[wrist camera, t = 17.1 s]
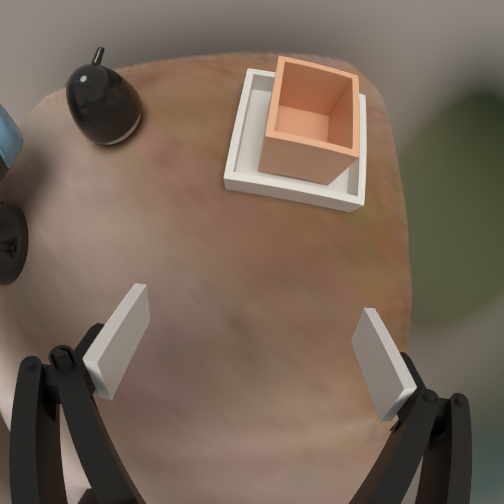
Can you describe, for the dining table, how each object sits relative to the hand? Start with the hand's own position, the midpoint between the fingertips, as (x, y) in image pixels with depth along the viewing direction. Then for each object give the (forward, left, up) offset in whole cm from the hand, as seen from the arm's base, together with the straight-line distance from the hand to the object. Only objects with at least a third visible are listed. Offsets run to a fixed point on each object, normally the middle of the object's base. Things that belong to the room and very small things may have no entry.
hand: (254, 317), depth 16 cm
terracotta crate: (-13, +18, -20) cm, 30 cm away
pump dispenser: (-33, -2, -21) cm, 39 cm away
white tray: (-13, +18, -21) cm, 31 cm away
